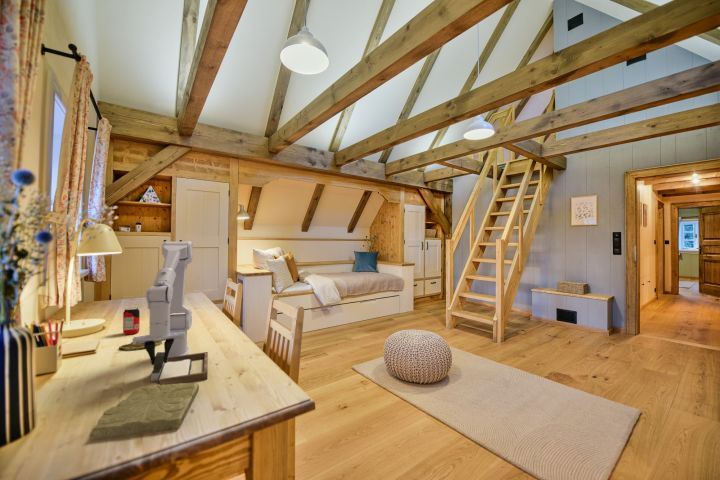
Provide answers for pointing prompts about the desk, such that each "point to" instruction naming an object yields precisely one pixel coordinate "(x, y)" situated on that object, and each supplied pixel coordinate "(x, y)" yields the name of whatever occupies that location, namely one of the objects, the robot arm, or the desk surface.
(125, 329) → the beverage can
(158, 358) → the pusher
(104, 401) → the desk surface
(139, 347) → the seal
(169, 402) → the decorative tile
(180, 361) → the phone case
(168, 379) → the walnut bay
